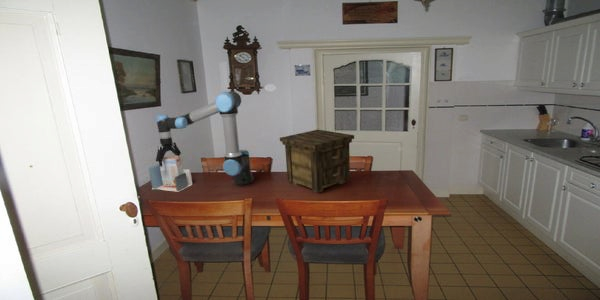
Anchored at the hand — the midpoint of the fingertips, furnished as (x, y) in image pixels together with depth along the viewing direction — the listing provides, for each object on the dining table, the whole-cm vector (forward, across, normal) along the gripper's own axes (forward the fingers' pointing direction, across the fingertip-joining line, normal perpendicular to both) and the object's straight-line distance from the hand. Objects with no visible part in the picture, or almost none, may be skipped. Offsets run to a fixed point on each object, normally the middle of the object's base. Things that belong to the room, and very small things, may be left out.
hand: (170, 167), depth 213 cm
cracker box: (+14, 0, 0) cm, 14 cm away
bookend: (+14, +2, +10) cm, 17 cm away
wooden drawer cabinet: (+16, -35, +96) cm, 103 cm away
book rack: (+15, 0, -1) cm, 15 cm away
